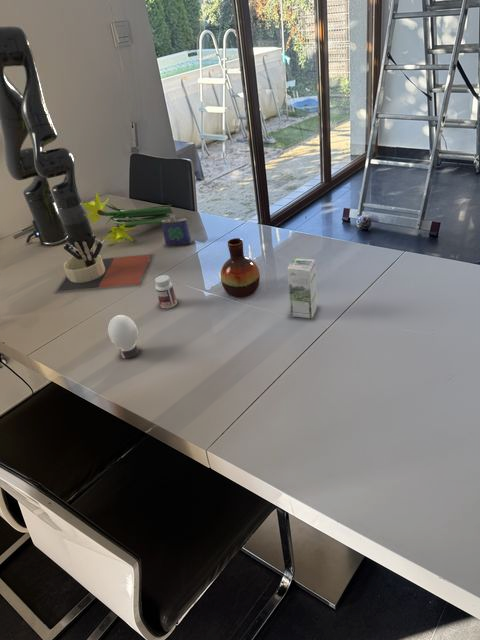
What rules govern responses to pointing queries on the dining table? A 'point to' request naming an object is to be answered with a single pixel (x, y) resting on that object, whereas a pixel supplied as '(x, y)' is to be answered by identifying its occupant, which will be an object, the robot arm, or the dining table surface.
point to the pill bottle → (165, 292)
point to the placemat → (114, 273)
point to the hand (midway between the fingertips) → (92, 269)
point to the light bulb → (124, 335)
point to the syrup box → (302, 288)
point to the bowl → (83, 270)
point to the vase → (239, 272)
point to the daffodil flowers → (120, 229)
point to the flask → (176, 232)
